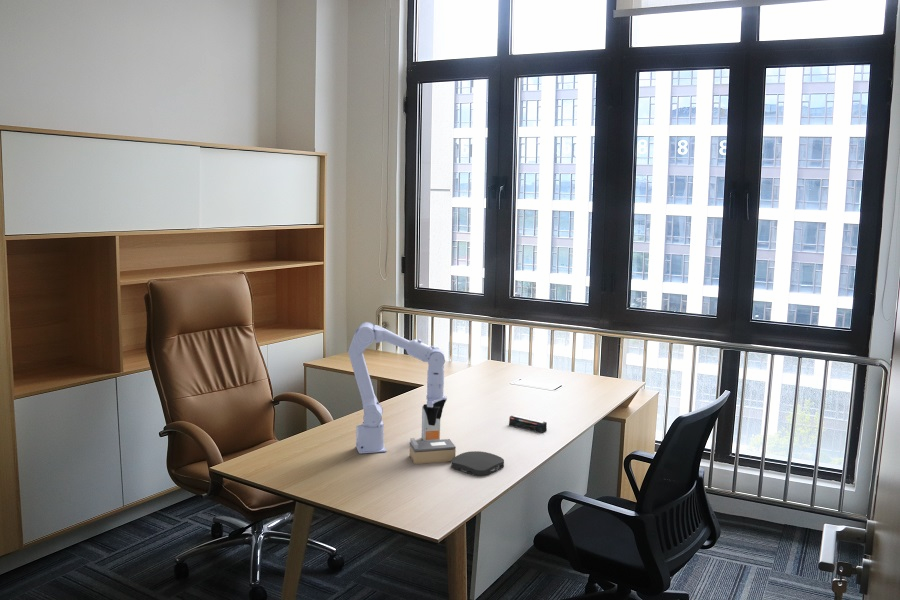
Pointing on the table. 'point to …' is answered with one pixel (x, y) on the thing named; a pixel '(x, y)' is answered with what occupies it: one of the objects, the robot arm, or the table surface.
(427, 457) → the box
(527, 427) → the graphics card
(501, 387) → the table surface
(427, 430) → the skincare box
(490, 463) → the media streaming box
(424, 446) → the lid
